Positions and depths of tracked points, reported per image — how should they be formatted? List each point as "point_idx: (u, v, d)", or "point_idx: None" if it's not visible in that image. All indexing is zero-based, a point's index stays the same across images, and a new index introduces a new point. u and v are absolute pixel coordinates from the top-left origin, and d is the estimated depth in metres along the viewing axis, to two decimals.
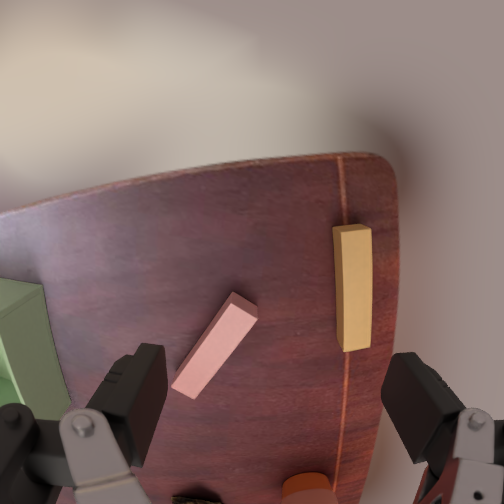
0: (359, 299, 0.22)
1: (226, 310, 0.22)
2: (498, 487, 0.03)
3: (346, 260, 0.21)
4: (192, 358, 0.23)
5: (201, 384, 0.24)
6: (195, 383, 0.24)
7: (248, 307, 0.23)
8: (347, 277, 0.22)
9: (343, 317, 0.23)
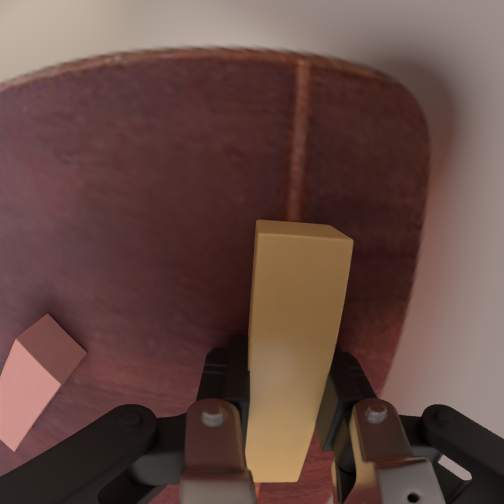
0: (286, 409, 0.08)
1: (12, 349, 0.08)
2: (431, 478, 0.04)
3: (264, 316, 0.08)
4: None
5: (14, 439, 0.10)
6: (7, 434, 0.10)
7: (57, 354, 0.09)
8: (261, 358, 0.08)
9: None
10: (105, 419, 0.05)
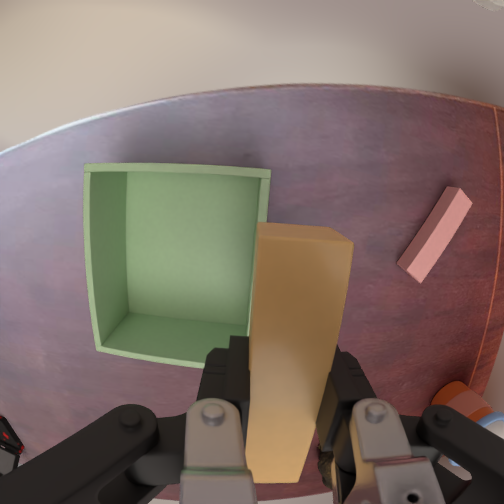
0: (287, 410, 0.08)
1: (457, 193, 0.24)
2: (431, 479, 0.04)
3: (265, 318, 0.08)
4: (430, 237, 0.25)
5: (430, 264, 0.26)
6: (426, 264, 0.26)
7: None
8: (262, 360, 0.08)
9: None
10: (105, 419, 0.05)
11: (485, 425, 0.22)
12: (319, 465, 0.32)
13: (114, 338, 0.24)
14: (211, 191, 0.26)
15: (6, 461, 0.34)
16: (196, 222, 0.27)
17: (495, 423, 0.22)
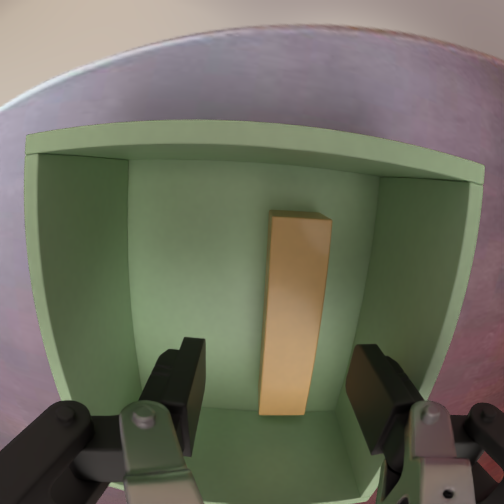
0: (293, 342, 0.13)
1: None
2: (468, 480, 0.03)
3: (276, 270, 0.12)
4: None
5: None
6: None
7: None
8: (275, 301, 0.12)
9: (262, 365, 0.13)
10: (43, 417, 0.05)
11: None
12: None
13: None
14: (295, 199, 0.14)
15: None
16: (265, 258, 0.14)
17: None
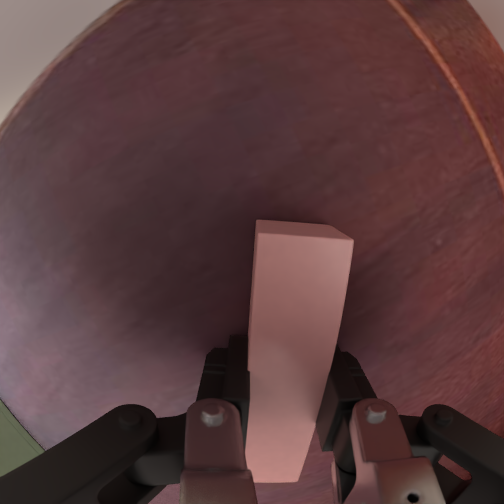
0: None
1: (258, 262, 0.07)
2: (431, 478, 0.04)
3: None
4: None
5: (297, 456, 0.09)
6: (283, 460, 0.09)
7: (312, 229, 0.08)
8: None
9: None
10: (105, 419, 0.05)
11: None
12: None
13: None
14: None
15: None
16: None
17: None
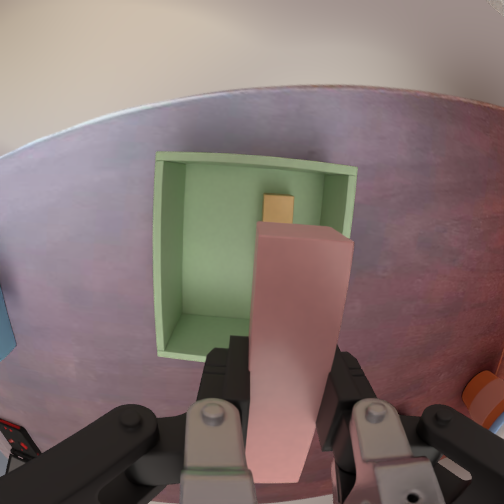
0: None
1: (259, 264, 0.07)
2: (431, 478, 0.04)
3: (266, 221, 0.24)
4: None
5: (297, 457, 0.09)
6: (284, 460, 0.09)
7: (313, 231, 0.08)
8: None
9: None
10: (105, 419, 0.05)
11: None
12: None
13: (176, 341, 0.23)
14: (277, 187, 0.26)
15: None
16: (261, 218, 0.26)
17: None
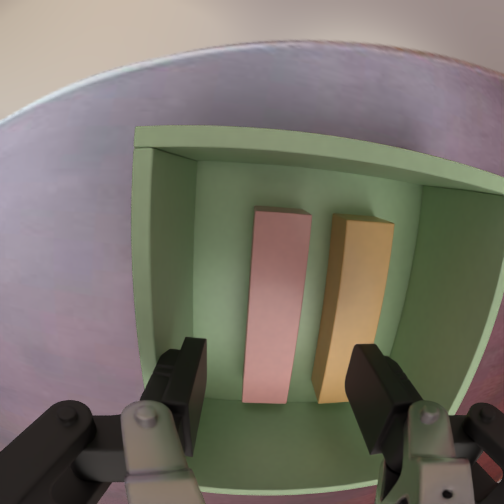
0: (356, 332, 0.14)
1: (255, 227, 0.13)
2: (467, 480, 0.03)
3: (348, 267, 0.13)
4: (248, 340, 0.14)
5: (284, 375, 0.14)
6: (274, 379, 0.14)
7: (288, 210, 0.13)
8: (345, 295, 0.13)
9: (327, 355, 0.14)
10: (45, 417, 0.05)
11: None
12: None
13: (193, 461, 0.12)
14: (354, 203, 0.15)
15: None
16: (327, 257, 0.15)
17: None
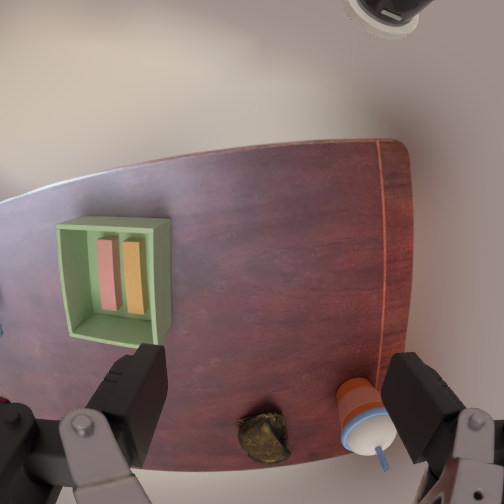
0: (133, 282, 0.37)
1: None
2: (499, 486, 0.03)
3: (125, 257, 0.37)
4: (99, 282, 0.37)
5: (113, 297, 0.38)
6: (110, 299, 0.38)
7: (109, 238, 0.37)
8: (126, 267, 0.37)
9: (126, 291, 0.38)
10: None
11: (367, 417, 0.34)
12: (238, 437, 0.44)
13: (81, 328, 0.36)
14: (136, 233, 0.38)
15: None
16: None
17: (379, 417, 0.34)
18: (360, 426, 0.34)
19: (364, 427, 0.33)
